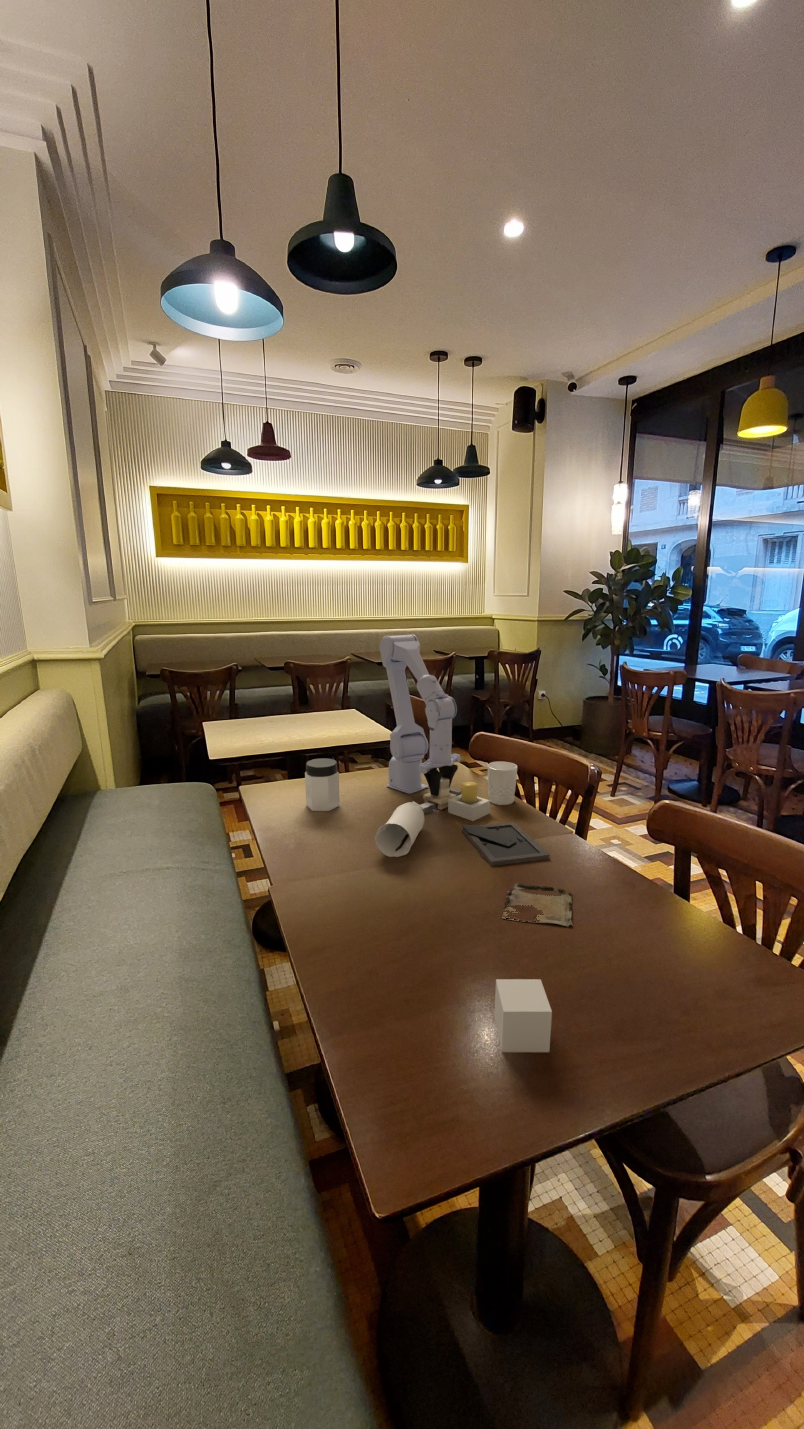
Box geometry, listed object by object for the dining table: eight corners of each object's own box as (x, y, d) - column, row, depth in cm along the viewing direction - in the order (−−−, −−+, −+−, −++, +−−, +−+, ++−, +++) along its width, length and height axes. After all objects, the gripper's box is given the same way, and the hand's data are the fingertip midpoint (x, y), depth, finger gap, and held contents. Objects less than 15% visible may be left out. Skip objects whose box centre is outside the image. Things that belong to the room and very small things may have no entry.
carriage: (423, 803, 154) (423, 779, 152) (437, 798, 158) (438, 774, 157) (441, 810, 150) (442, 784, 148) (456, 803, 154) (456, 779, 152)
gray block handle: (400, 816, 146) (400, 807, 145) (451, 796, 160) (451, 788, 159) (411, 820, 144) (411, 811, 143) (461, 799, 158) (461, 791, 157)
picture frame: (462, 833, 138) (491, 868, 121) (462, 825, 137) (491, 859, 120) (513, 827, 141) (549, 861, 124) (514, 820, 140) (549, 852, 123)
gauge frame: (448, 812, 149) (448, 799, 148) (464, 805, 154) (465, 792, 153) (473, 821, 143) (473, 807, 143) (489, 813, 148) (490, 800, 147)
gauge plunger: (458, 799, 148) (458, 784, 147) (467, 795, 150) (468, 780, 150) (470, 803, 145) (471, 788, 144) (480, 798, 148) (480, 784, 147)
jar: (302, 803, 155) (300, 760, 153) (331, 797, 159) (329, 756, 156) (313, 814, 148) (312, 769, 145) (343, 808, 151) (342, 764, 149)
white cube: (501, 1053, 72) (503, 1011, 71) (494, 1018, 78) (495, 979, 77) (549, 1052, 72) (552, 1011, 71) (538, 1017, 78) (540, 979, 77)
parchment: (572, 893, 110) (572, 888, 110) (573, 931, 98) (573, 926, 98) (507, 884, 114) (507, 879, 113) (500, 920, 101) (500, 915, 101)
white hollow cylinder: (431, 826, 140) (431, 795, 139) (410, 860, 123) (410, 825, 121) (400, 822, 143) (400, 792, 141) (375, 855, 125) (374, 821, 123)
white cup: (480, 798, 159) (481, 763, 157) (504, 794, 162) (506, 759, 160) (497, 808, 152) (498, 771, 150) (521, 803, 155) (523, 767, 153)
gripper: (433, 752, 142) (433, 803, 145) (469, 741, 153) (468, 789, 155) (412, 746, 147) (412, 797, 150) (449, 736, 157) (448, 783, 160)
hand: (439, 792), depth 153 cm, fingers open, 4 cm apart
